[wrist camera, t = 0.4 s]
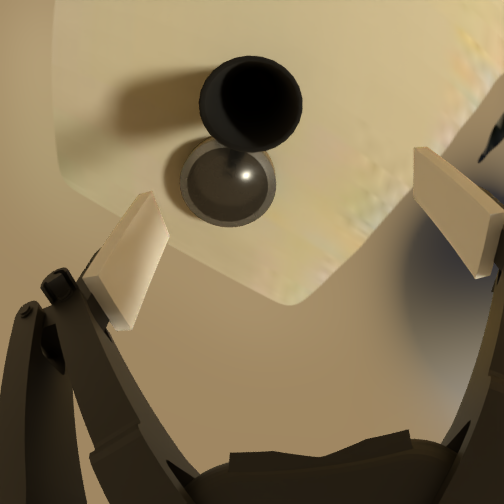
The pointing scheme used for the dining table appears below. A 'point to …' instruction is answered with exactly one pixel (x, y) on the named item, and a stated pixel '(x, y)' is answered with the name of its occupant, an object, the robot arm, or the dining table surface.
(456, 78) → the dining table surface
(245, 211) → the grey metal bowl
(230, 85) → the cup
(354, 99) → the dining table surface
